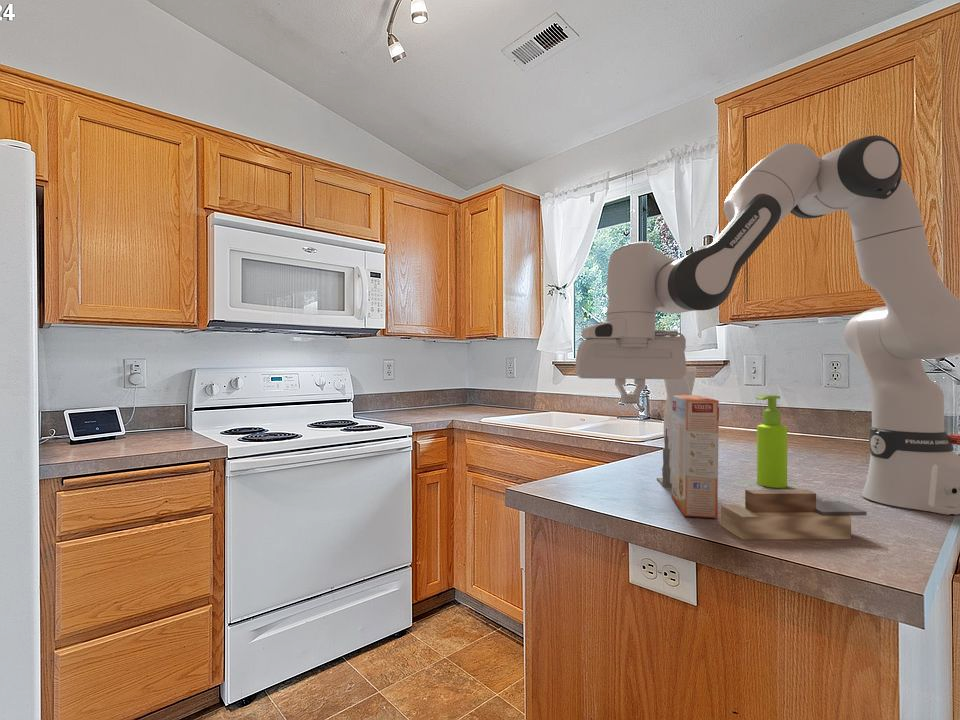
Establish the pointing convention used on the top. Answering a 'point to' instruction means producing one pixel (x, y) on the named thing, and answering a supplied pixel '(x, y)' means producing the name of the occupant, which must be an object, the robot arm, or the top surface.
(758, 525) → the beech board
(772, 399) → the soap dispenser
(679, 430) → the cracker box
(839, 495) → the top surface
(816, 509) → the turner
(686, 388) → the skyscraper
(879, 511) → the top surface
